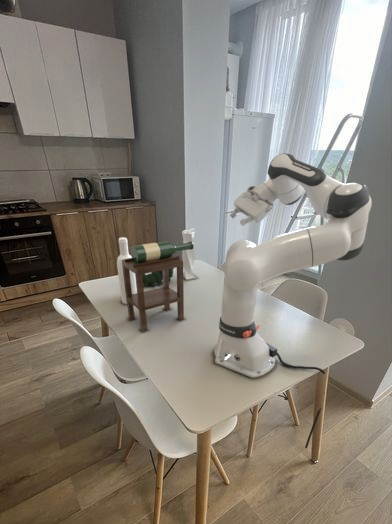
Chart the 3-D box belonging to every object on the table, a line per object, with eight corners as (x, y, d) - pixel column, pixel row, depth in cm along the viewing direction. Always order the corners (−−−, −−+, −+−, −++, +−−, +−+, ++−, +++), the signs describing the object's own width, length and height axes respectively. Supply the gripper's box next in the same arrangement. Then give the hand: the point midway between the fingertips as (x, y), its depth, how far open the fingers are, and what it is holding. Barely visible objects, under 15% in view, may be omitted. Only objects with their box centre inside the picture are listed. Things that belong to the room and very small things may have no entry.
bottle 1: (134, 305, 143) (127, 241, 126) (119, 304, 144) (110, 239, 127) (140, 298, 149) (134, 236, 133) (125, 297, 150) (117, 235, 134)
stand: (183, 319, 132) (183, 258, 117) (142, 331, 122) (136, 267, 107) (167, 307, 141) (165, 249, 126) (128, 318, 132) (121, 257, 117)
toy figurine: (142, 294, 158) (182, 281, 169) (135, 259, 147) (178, 247, 157) (134, 288, 165) (173, 276, 175) (128, 254, 154) (170, 243, 164)
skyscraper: (198, 279, 173) (199, 228, 158) (185, 281, 170) (185, 229, 155) (192, 274, 180) (193, 225, 164) (180, 276, 177) (179, 226, 161)
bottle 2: (195, 255, 124) (195, 239, 121) (138, 265, 112) (137, 248, 108) (187, 251, 129) (187, 235, 125) (131, 261, 116) (129, 244, 112)
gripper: (278, 211, 120) (250, 234, 122) (253, 197, 134) (229, 218, 137) (272, 198, 116) (244, 222, 118) (247, 185, 130) (222, 207, 132)
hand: (236, 220), depth 127 cm, fingers open, 8 cm apart
